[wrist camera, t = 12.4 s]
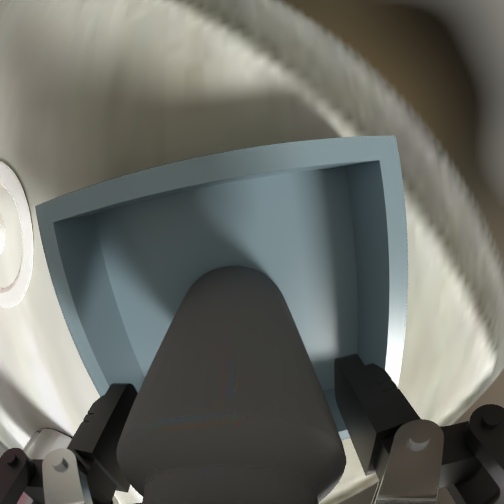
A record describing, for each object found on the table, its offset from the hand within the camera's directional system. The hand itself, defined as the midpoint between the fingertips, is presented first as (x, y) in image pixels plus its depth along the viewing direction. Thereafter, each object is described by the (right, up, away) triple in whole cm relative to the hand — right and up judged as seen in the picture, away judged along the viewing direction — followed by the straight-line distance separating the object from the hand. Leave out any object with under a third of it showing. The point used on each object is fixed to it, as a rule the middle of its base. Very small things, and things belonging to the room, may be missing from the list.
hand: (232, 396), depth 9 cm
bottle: (0, +1, +7) cm, 7 cm away
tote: (0, +2, +8) cm, 8 cm away
